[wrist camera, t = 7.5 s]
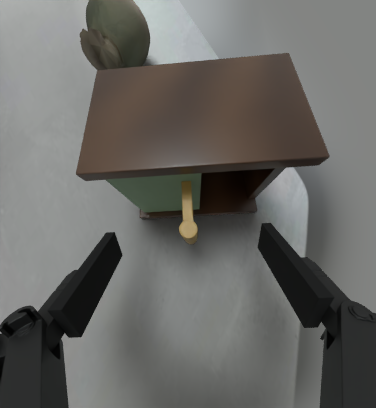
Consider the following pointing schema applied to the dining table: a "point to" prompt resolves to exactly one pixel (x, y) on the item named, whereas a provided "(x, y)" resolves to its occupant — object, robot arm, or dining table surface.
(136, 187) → the sliding door
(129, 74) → the cupboard
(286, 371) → the dining table surface
